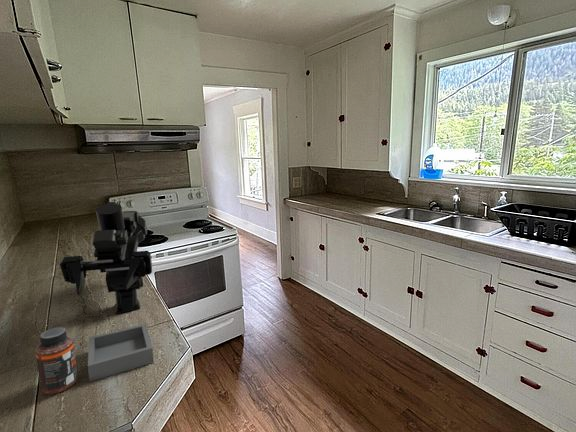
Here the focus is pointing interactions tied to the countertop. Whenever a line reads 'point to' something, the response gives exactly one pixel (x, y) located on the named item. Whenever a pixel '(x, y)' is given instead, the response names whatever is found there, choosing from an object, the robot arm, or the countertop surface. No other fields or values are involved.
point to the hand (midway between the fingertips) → (102, 290)
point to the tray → (119, 351)
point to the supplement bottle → (56, 361)
